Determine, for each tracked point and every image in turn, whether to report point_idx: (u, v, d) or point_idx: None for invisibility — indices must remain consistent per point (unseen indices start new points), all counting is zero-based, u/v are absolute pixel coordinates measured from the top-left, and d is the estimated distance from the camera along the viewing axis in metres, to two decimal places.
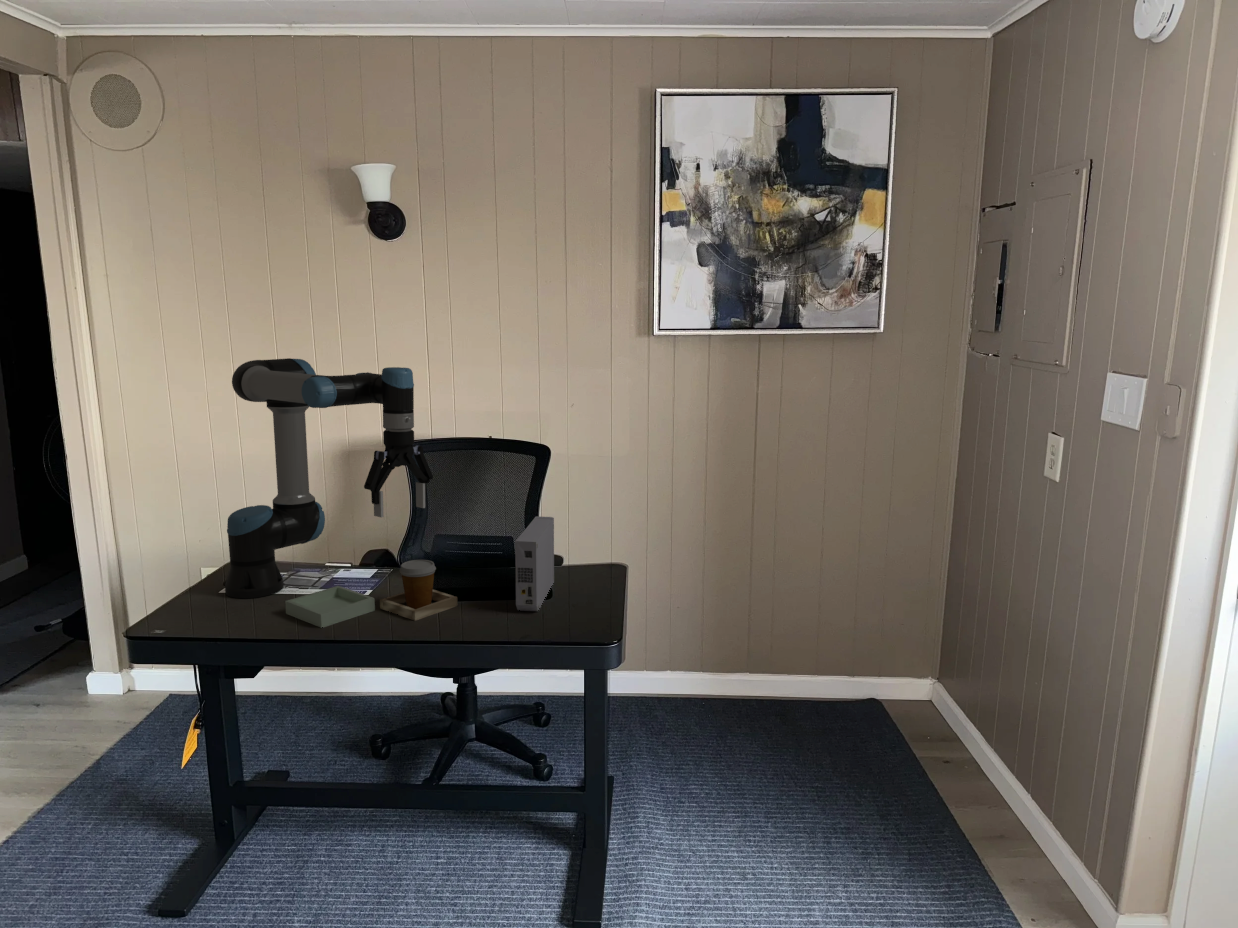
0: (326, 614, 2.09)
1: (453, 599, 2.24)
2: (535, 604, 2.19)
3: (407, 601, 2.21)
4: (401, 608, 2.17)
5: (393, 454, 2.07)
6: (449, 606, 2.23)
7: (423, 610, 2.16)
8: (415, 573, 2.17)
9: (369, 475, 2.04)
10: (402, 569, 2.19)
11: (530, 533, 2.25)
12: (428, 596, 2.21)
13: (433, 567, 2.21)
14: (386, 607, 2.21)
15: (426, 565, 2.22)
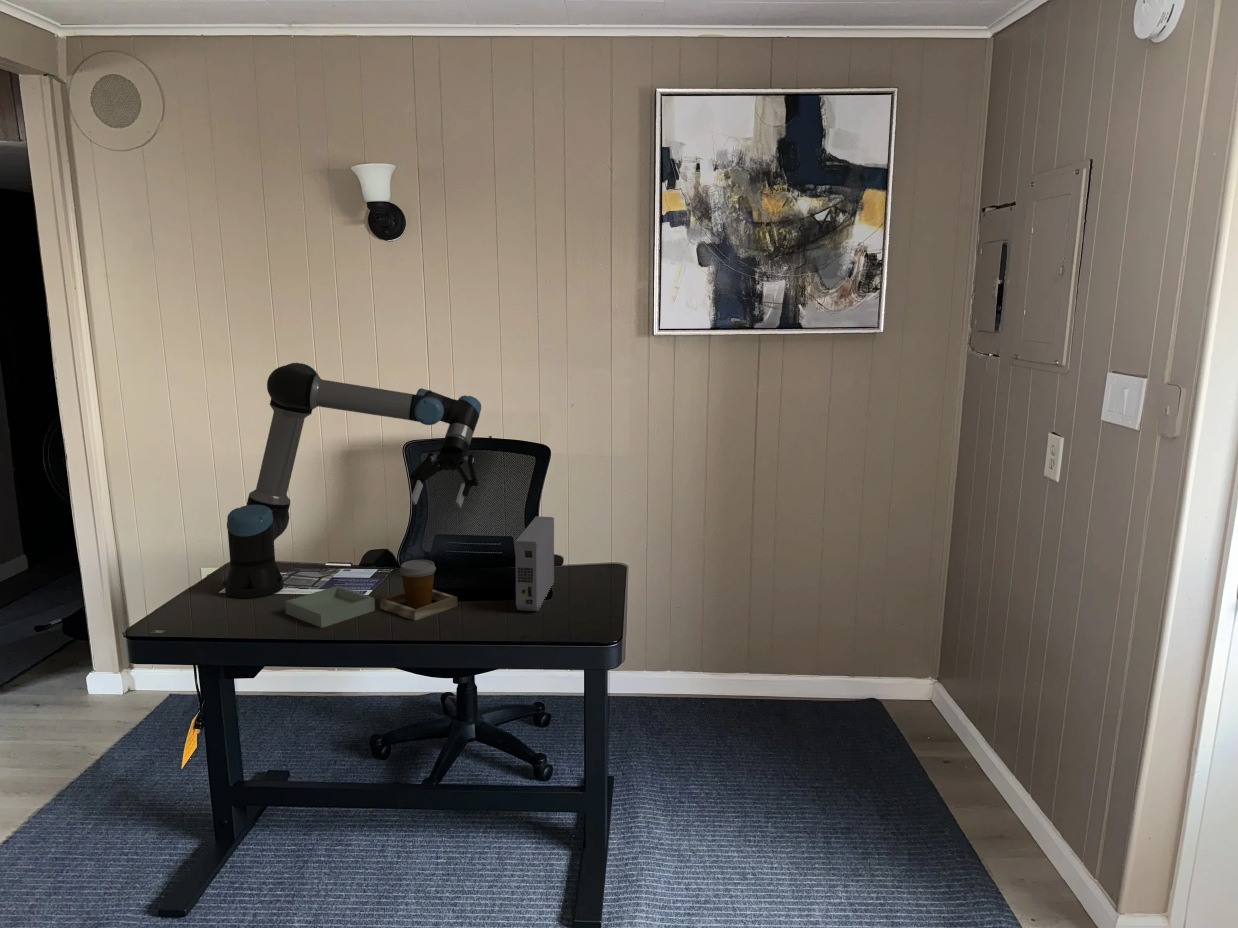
0: (326, 614, 2.09)
1: (453, 599, 2.24)
2: (535, 604, 2.19)
3: (407, 601, 2.21)
4: (401, 608, 2.17)
5: None
6: (449, 606, 2.23)
7: (423, 610, 2.16)
8: (415, 573, 2.17)
9: (474, 472, 2.35)
10: (402, 569, 2.19)
11: (530, 533, 2.25)
12: (428, 596, 2.21)
13: (433, 567, 2.21)
14: (386, 607, 2.21)
15: (426, 565, 2.22)
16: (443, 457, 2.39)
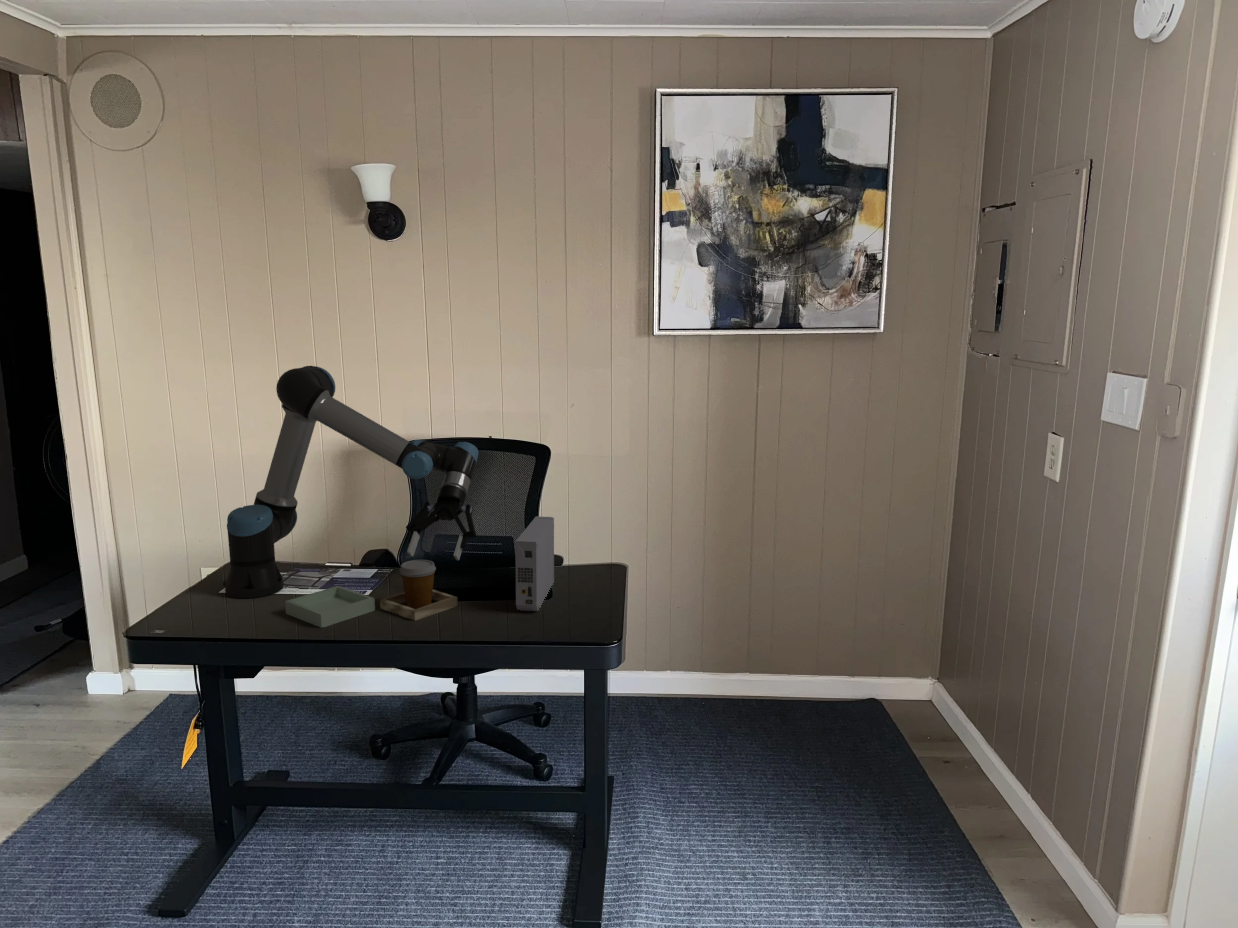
0: (326, 614, 2.09)
1: (453, 599, 2.24)
2: (535, 604, 2.19)
3: (407, 601, 2.21)
4: (401, 608, 2.17)
5: None
6: (449, 606, 2.23)
7: (423, 610, 2.16)
8: (415, 573, 2.17)
9: (472, 523, 2.30)
10: (402, 569, 2.19)
11: (530, 533, 2.25)
12: (428, 596, 2.21)
13: (433, 567, 2.21)
14: (386, 607, 2.21)
15: (426, 565, 2.22)
16: (440, 507, 2.34)
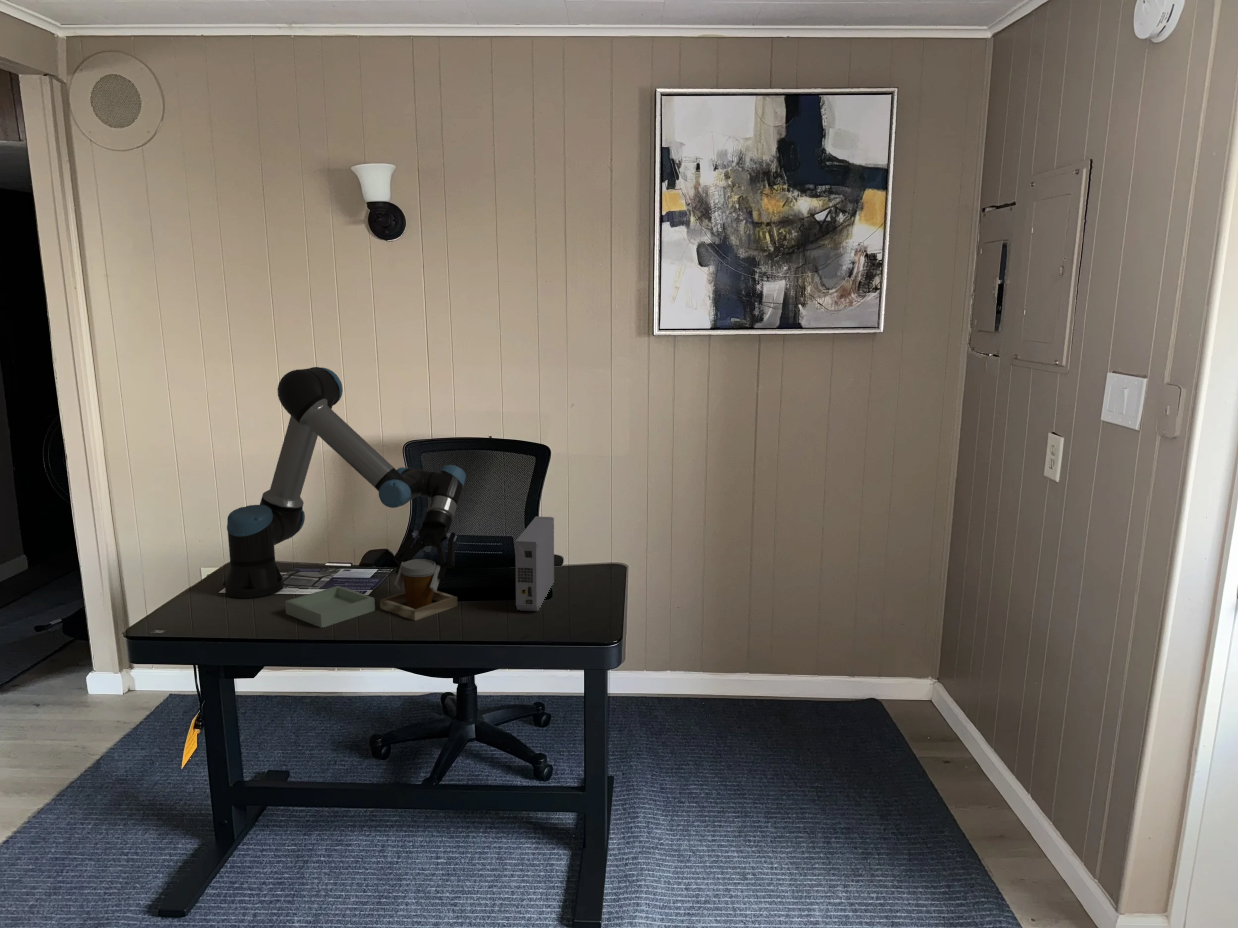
0: (326, 614, 2.09)
1: (453, 599, 2.24)
2: (535, 604, 2.19)
3: (407, 600, 2.21)
4: (401, 608, 2.17)
5: None
6: (449, 606, 2.23)
7: (423, 610, 2.16)
8: (416, 573, 2.17)
9: (452, 553, 2.24)
10: (404, 568, 2.19)
11: (530, 533, 2.25)
12: (428, 596, 2.21)
13: (435, 567, 2.21)
14: (386, 607, 2.21)
15: (428, 565, 2.22)
16: (425, 533, 2.27)
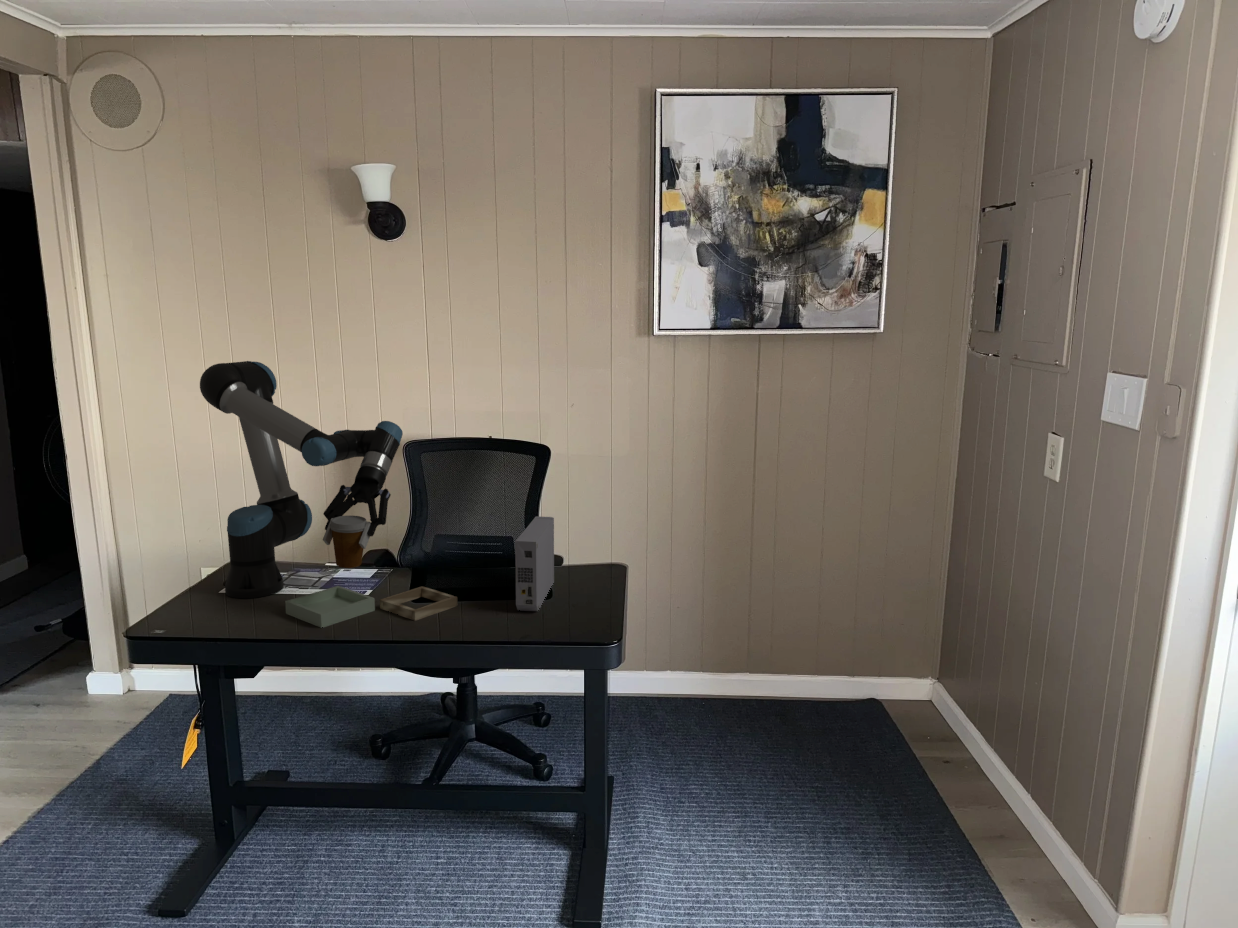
0: (326, 614, 2.09)
1: (453, 599, 2.24)
2: (535, 604, 2.19)
3: (336, 557, 2.15)
4: (401, 608, 2.17)
5: None
6: (449, 606, 2.23)
7: (423, 610, 2.16)
8: (345, 529, 2.11)
9: (384, 510, 2.17)
10: (332, 524, 2.12)
11: (530, 533, 2.25)
12: (358, 553, 2.15)
13: (365, 524, 2.15)
14: (386, 607, 2.21)
15: (358, 521, 2.15)
16: (357, 489, 2.21)
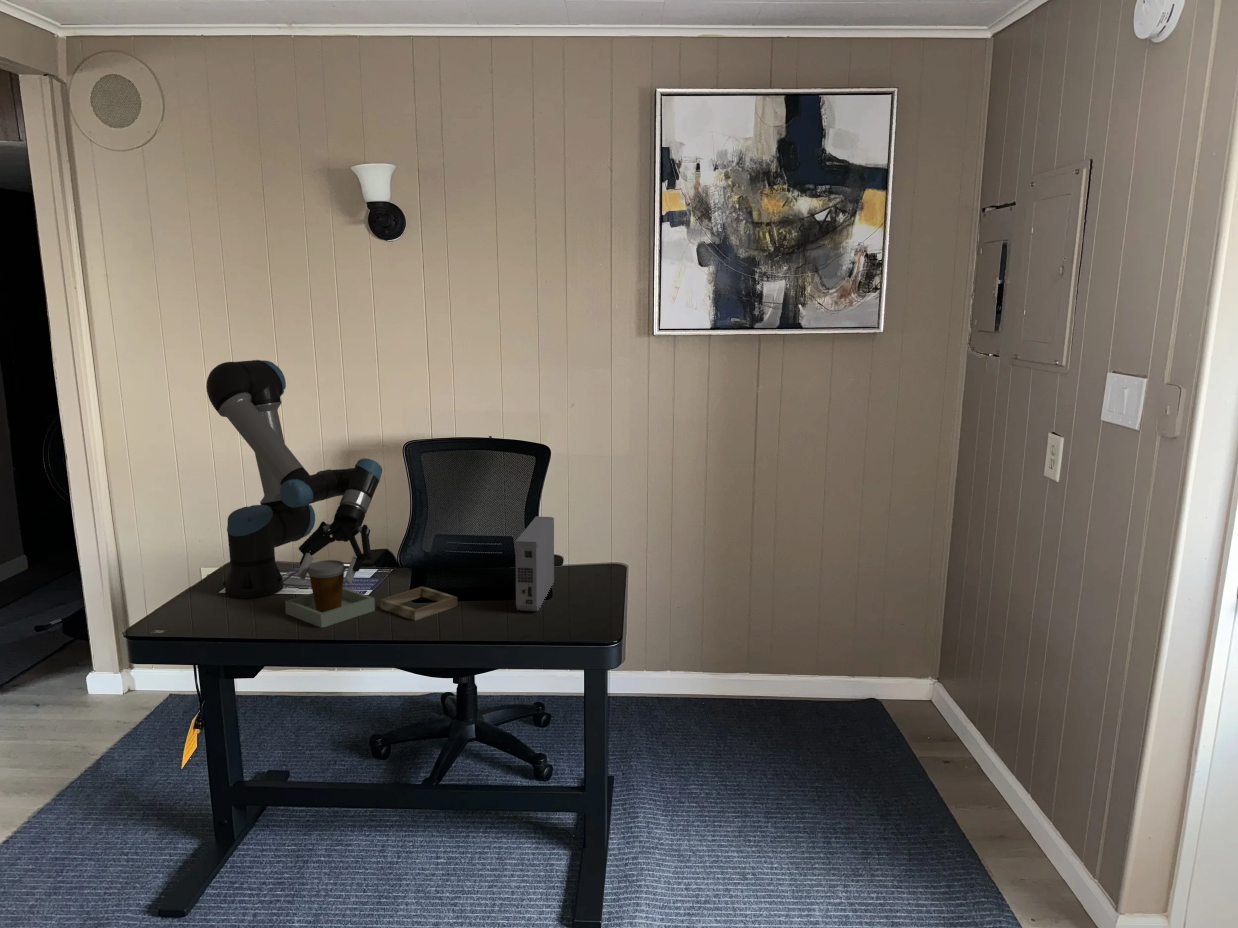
0: (326, 614, 2.09)
1: (453, 599, 2.24)
2: (535, 604, 2.19)
3: (315, 602, 2.16)
4: (401, 608, 2.17)
5: None
6: (449, 606, 2.23)
7: (423, 610, 2.16)
8: (322, 574, 2.13)
9: (367, 545, 2.19)
10: (309, 570, 2.14)
11: (530, 533, 2.25)
12: (336, 597, 2.17)
13: (342, 568, 2.16)
14: (386, 607, 2.21)
15: (335, 566, 2.17)
16: (335, 527, 2.22)
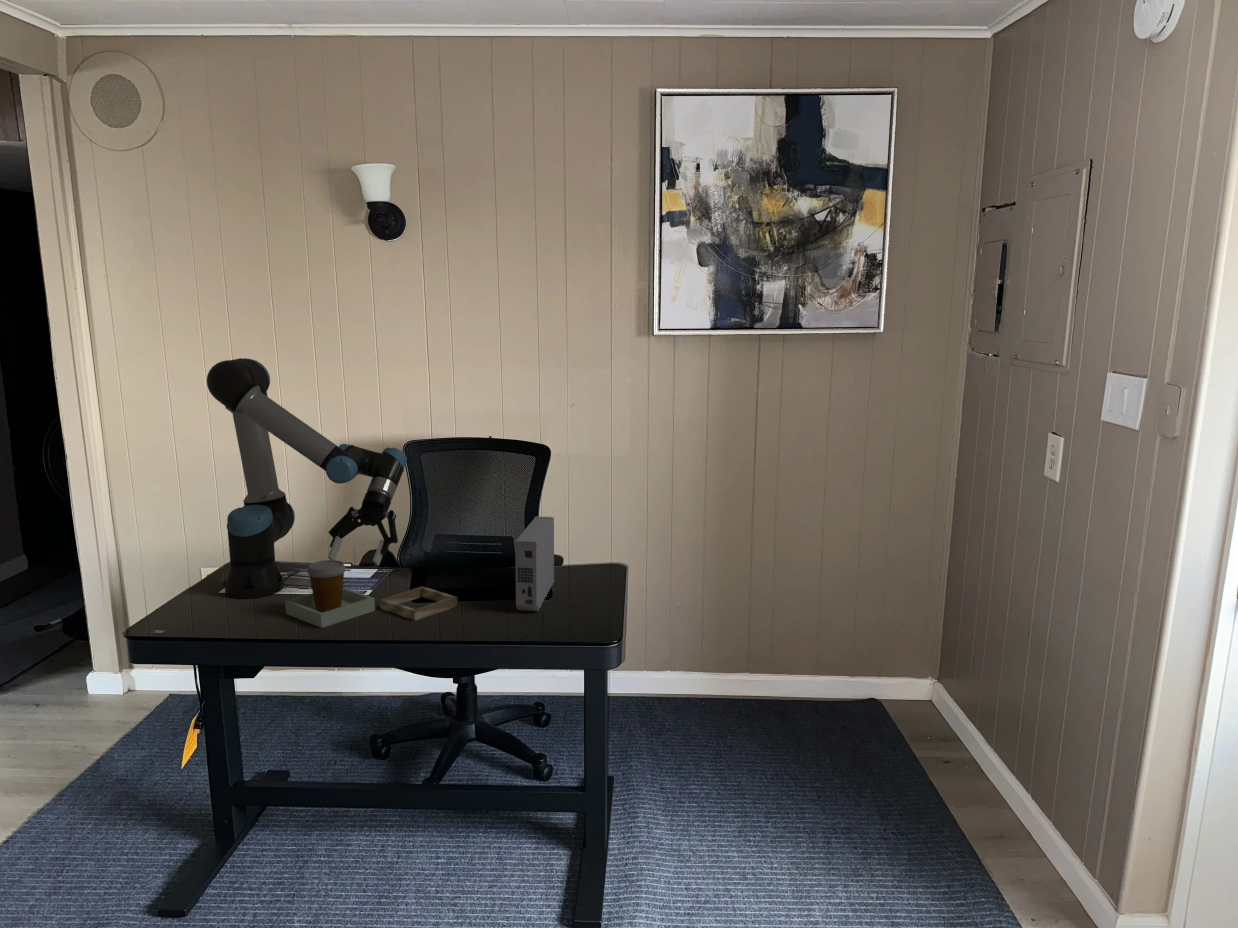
0: (326, 614, 2.09)
1: (453, 599, 2.24)
2: (535, 604, 2.19)
3: (315, 602, 2.16)
4: (401, 608, 2.17)
5: None
6: (449, 606, 2.23)
7: (423, 610, 2.16)
8: (322, 574, 2.13)
9: (394, 529, 2.31)
10: (309, 570, 2.14)
11: (530, 533, 2.25)
12: (336, 597, 2.17)
13: (342, 568, 2.16)
14: (386, 607, 2.21)
15: (335, 565, 2.17)
16: (363, 512, 2.35)
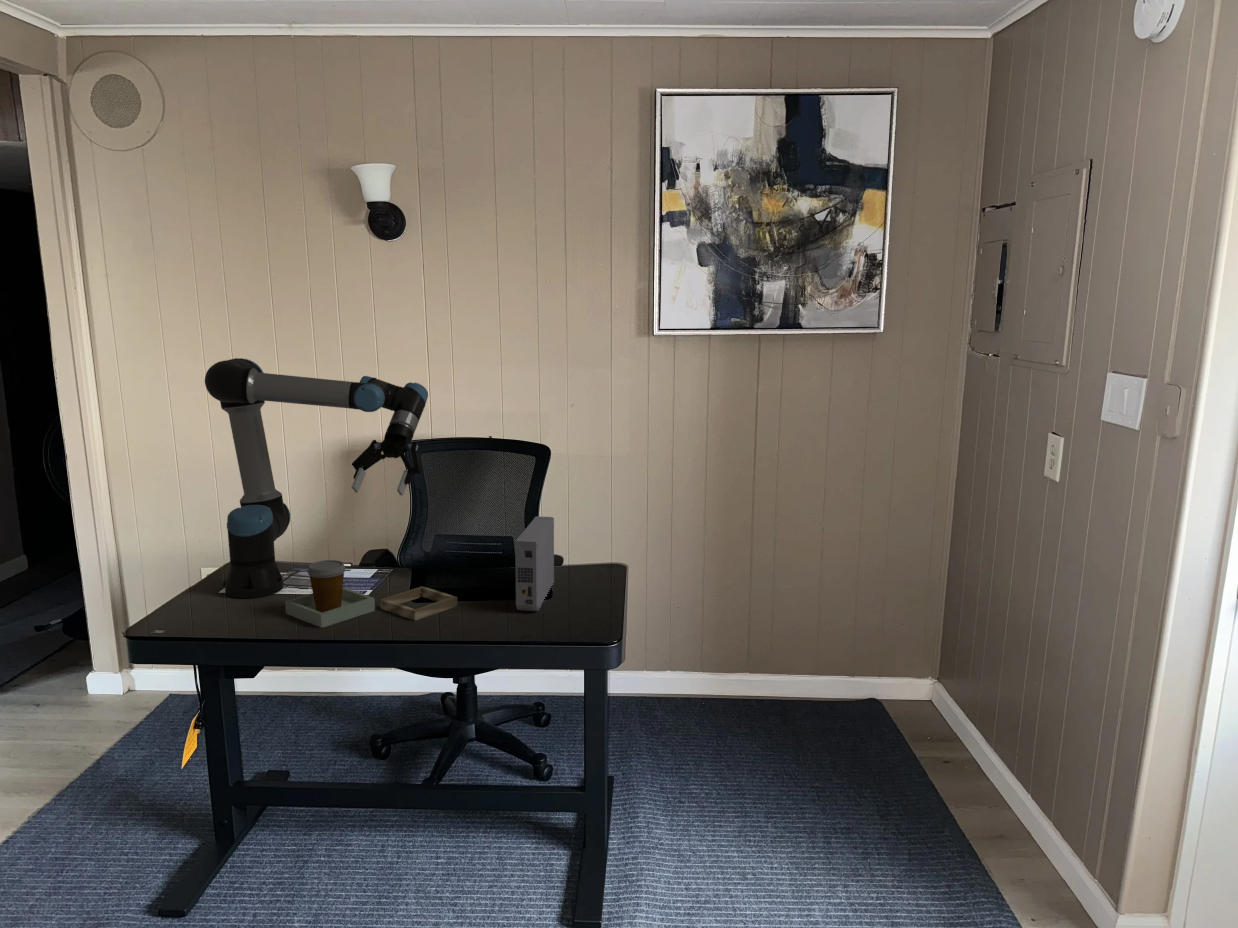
0: (326, 614, 2.09)
1: (453, 599, 2.24)
2: (535, 604, 2.19)
3: (315, 602, 2.16)
4: (401, 608, 2.17)
5: None
6: (449, 606, 2.23)
7: (423, 610, 2.16)
8: (322, 574, 2.13)
9: (417, 460, 2.31)
10: (309, 570, 2.14)
11: (530, 533, 2.25)
12: (336, 597, 2.16)
13: (342, 568, 2.16)
14: (386, 607, 2.21)
15: (335, 566, 2.17)
16: (386, 444, 2.35)
